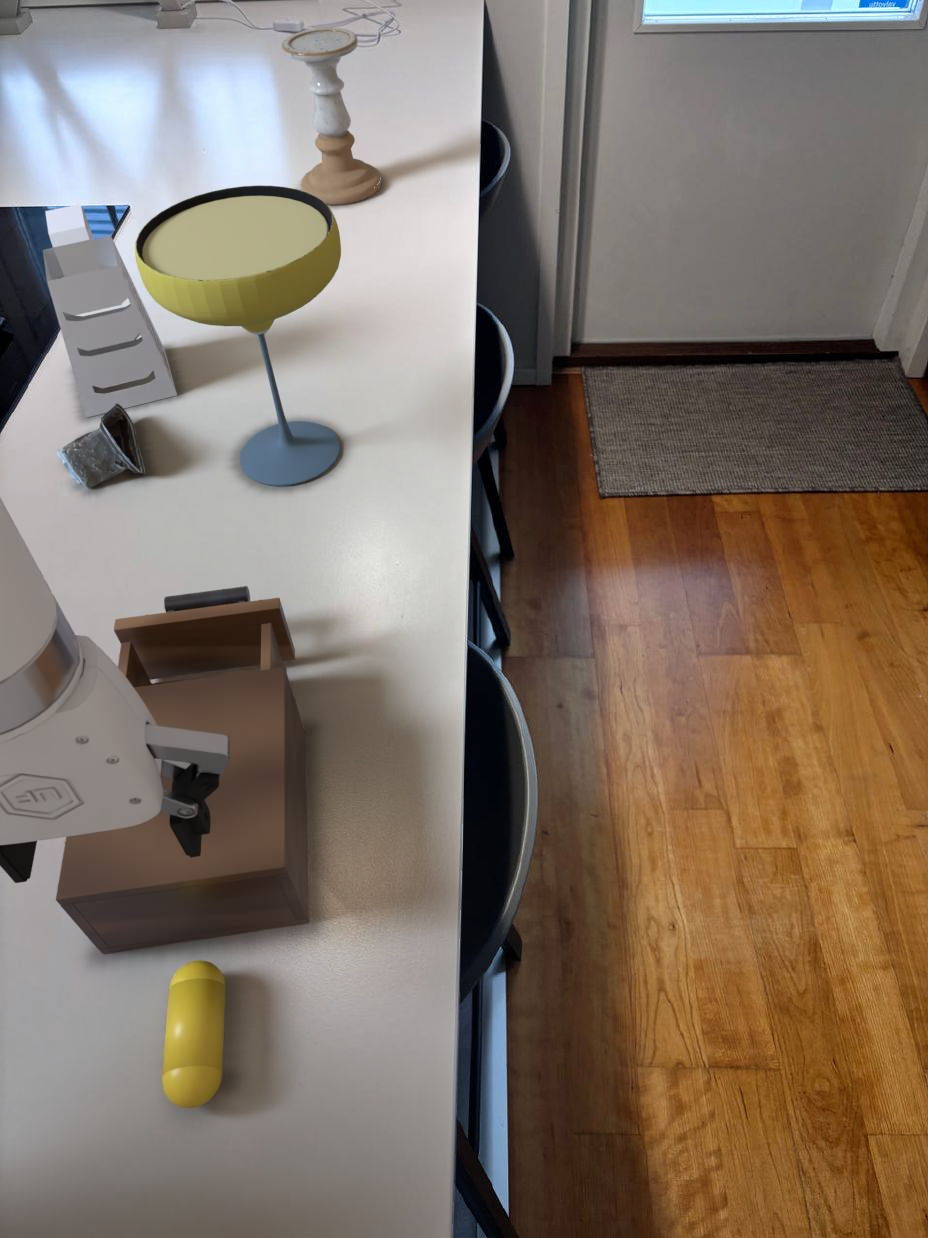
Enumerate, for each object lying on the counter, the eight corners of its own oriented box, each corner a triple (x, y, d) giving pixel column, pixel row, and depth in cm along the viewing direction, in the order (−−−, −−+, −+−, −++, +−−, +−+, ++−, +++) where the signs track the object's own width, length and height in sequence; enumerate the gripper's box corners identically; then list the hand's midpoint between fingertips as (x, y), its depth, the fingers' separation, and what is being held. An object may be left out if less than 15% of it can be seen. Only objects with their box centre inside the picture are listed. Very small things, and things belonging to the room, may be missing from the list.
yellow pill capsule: (218, 1114, 60) (222, 1096, 57) (158, 1118, 59) (160, 1099, 56) (224, 973, 66) (228, 951, 63) (170, 974, 65) (171, 952, 62)
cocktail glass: (366, 393, 109) (330, 173, 90) (381, 495, 97) (343, 265, 78) (208, 416, 108) (139, 197, 89) (203, 521, 96) (123, 295, 77)
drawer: (145, 636, 85) (120, 583, 80) (294, 616, 85) (279, 563, 80) (121, 829, 72) (89, 781, 67) (297, 804, 73) (279, 754, 67)
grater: (164, 349, 118) (110, 187, 103) (177, 395, 111) (121, 229, 96) (78, 369, 116) (11, 208, 101) (86, 417, 109) (14, 252, 94)
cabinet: (127, 756, 77) (90, 692, 71) (305, 731, 78) (284, 666, 72) (101, 954, 66) (55, 900, 60) (309, 923, 67) (285, 867, 61)
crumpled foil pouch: (70, 434, 108) (22, 421, 96) (124, 404, 107) (83, 387, 96) (113, 508, 108) (70, 504, 96) (166, 479, 108) (130, 471, 96)
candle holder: (332, 213, 139) (308, 62, 124) (286, 188, 146) (257, 41, 131) (398, 185, 144) (382, 37, 129) (350, 162, 151) (329, 18, 136)
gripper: (-244, 757, 39) (-55, 931, 52) (176, 699, 40) (261, 884, 53) (-186, 623, 44) (-26, 812, 57) (187, 574, 45) (262, 771, 58)
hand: (112, 846), depth 55 cm, fingers open, 9 cm apart
